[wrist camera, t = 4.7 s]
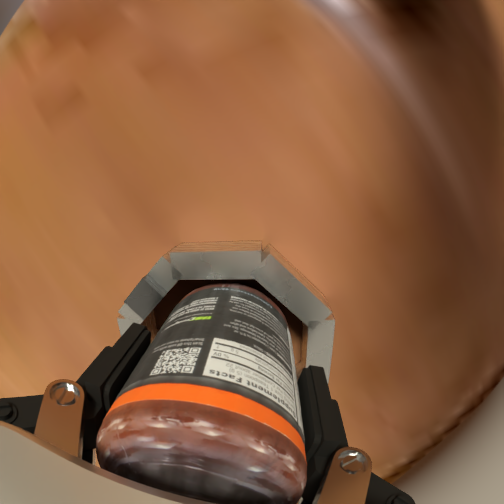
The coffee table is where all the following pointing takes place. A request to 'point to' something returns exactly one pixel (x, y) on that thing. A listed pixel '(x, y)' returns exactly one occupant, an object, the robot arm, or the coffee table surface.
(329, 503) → the robot arm
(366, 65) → the coffee table surface
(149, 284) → the ring holder
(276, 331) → the supplement bottle
